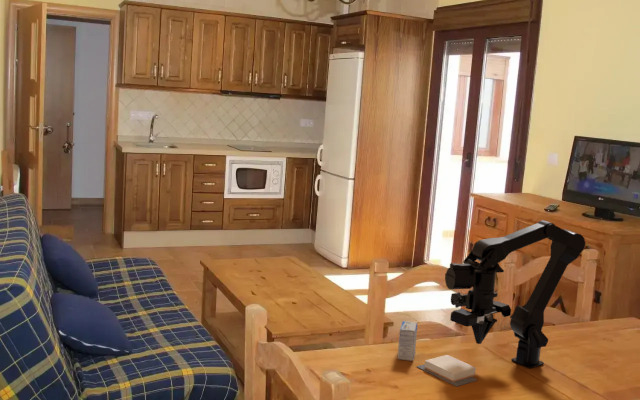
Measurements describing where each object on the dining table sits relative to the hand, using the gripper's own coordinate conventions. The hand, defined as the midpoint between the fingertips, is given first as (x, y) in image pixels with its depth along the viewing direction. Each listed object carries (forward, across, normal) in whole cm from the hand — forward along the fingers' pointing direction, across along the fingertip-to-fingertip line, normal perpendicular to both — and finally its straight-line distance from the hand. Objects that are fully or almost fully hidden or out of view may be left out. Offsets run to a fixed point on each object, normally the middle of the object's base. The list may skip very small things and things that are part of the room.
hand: (478, 343), depth 186 cm
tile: (+5, +6, 0) cm, 8 cm away
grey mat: (+6, +12, 0) cm, 13 cm away
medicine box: (+6, +12, -15) cm, 20 cm away
